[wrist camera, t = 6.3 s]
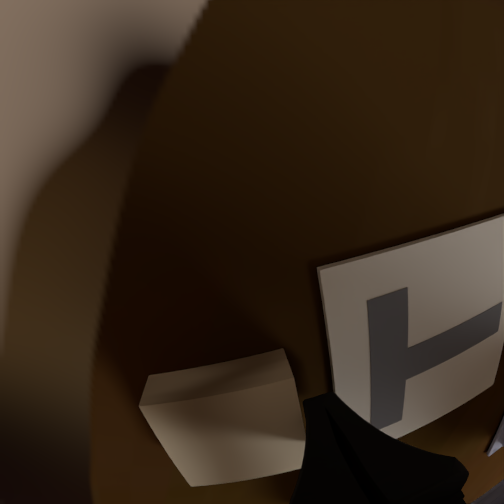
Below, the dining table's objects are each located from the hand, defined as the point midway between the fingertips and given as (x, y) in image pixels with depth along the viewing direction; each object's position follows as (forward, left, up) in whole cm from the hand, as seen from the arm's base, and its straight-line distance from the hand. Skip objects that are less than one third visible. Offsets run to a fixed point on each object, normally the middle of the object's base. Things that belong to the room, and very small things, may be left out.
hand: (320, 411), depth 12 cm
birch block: (+4, 0, -2) cm, 4 cm away
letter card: (-7, 0, -1) cm, 7 cm away
